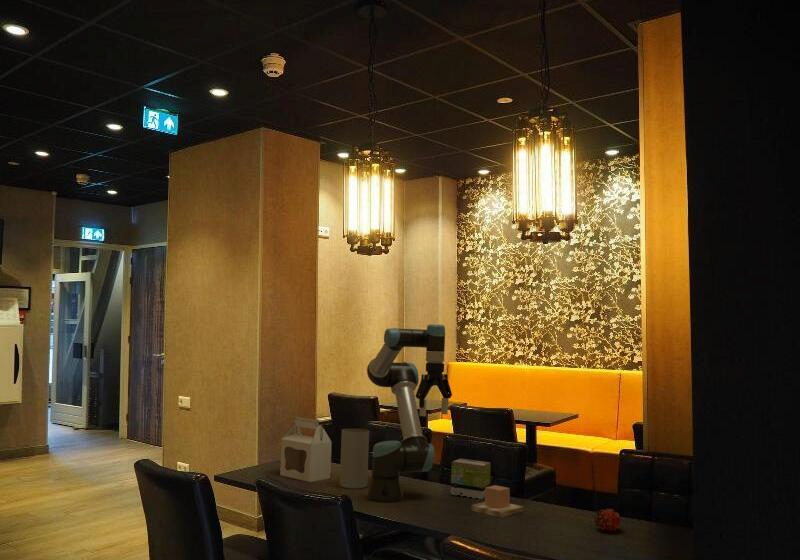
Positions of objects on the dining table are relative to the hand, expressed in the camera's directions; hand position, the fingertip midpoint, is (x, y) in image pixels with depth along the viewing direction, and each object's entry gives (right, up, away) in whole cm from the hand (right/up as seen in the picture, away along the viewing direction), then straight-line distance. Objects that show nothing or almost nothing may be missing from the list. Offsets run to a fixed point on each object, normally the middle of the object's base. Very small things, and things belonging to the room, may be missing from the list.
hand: (433, 415), depth 272 cm
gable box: (-59, -40, +51) cm, 88 cm away
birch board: (+25, -37, -5) cm, 45 cm away
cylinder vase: (-35, -39, +33) cm, 62 cm away
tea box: (+17, -40, +22) cm, 48 cm away
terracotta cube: (+25, -35, -5) cm, 43 cm away
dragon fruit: (+62, -36, -28) cm, 77 cm away
